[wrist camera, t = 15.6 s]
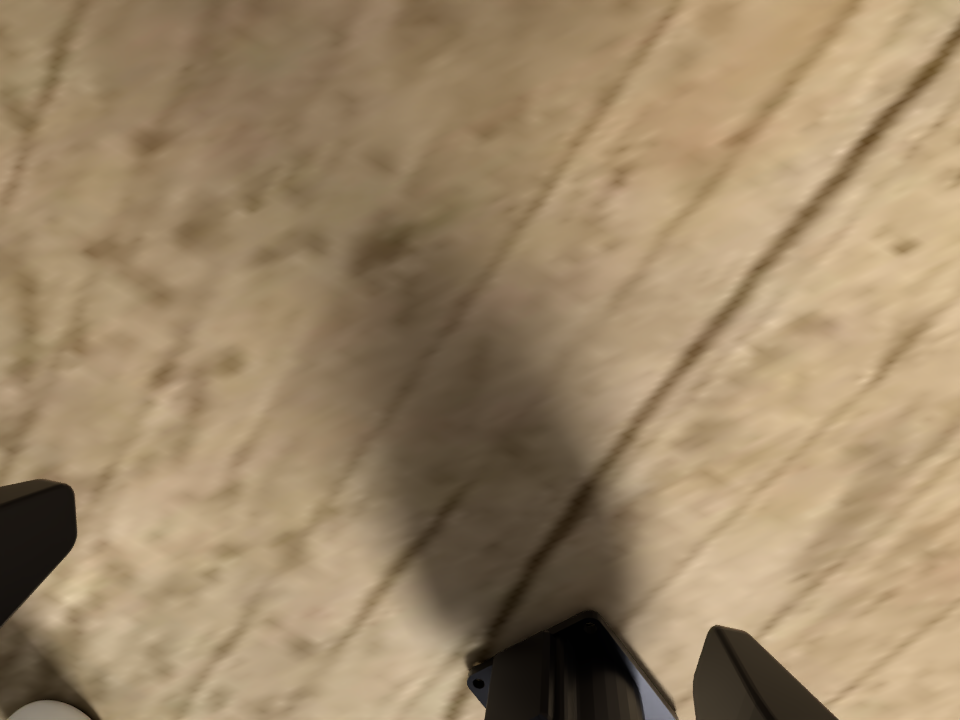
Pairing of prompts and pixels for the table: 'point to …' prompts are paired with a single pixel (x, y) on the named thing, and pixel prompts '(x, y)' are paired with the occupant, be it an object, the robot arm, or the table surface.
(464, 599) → the table surface
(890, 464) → the table surface
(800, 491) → the table surface
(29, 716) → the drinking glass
